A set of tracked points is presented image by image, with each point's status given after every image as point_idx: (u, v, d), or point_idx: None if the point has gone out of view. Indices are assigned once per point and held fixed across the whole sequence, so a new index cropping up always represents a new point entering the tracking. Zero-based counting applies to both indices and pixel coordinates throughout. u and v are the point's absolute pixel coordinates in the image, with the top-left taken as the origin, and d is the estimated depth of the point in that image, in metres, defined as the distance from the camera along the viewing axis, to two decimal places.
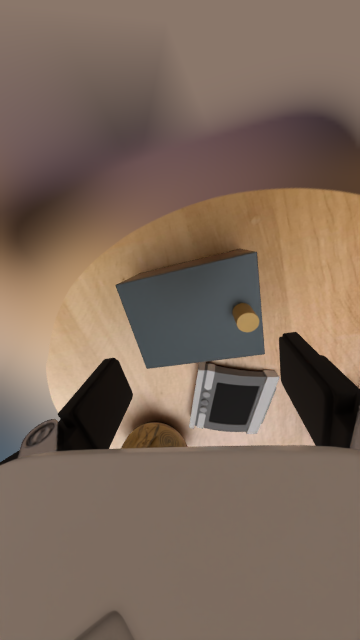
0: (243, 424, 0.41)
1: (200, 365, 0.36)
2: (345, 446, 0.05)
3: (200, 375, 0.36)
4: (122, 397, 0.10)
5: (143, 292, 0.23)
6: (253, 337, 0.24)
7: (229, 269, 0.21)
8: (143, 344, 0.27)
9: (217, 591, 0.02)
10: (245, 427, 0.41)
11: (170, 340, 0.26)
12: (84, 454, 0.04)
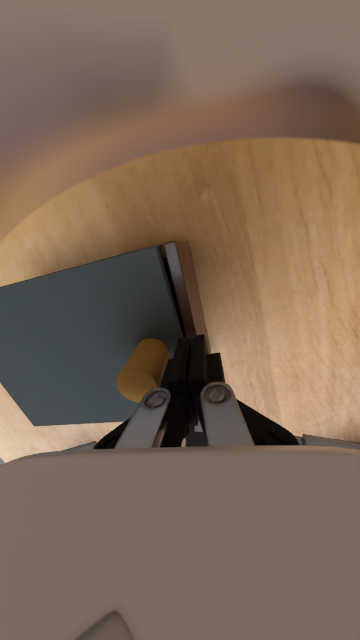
0: None
1: None
2: (199, 417, 0.07)
3: None
4: None
5: None
6: None
7: (113, 279, 0.11)
8: (16, 394, 0.17)
9: (217, 591, 0.02)
10: None
11: (53, 390, 0.16)
12: (84, 454, 0.04)
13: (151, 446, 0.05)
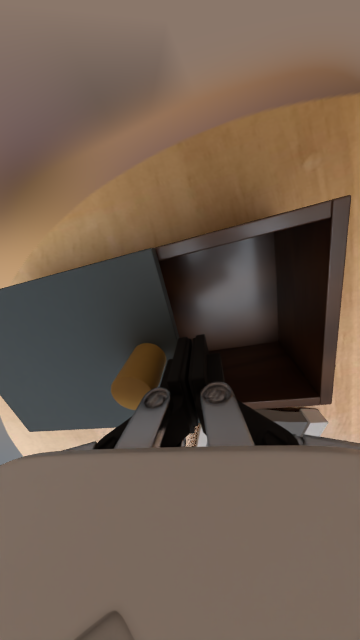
0: None
1: None
2: (199, 417, 0.07)
3: None
4: None
5: None
6: None
7: (108, 282, 0.11)
8: (11, 399, 0.16)
9: (217, 591, 0.02)
10: None
11: (48, 395, 0.16)
12: (84, 454, 0.04)
13: (151, 446, 0.05)
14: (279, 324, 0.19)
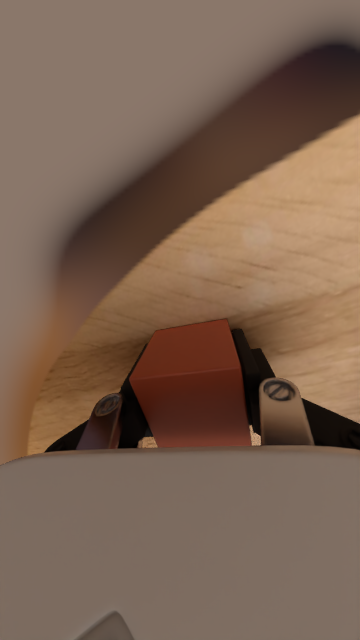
0: None
1: None
2: (253, 416, 0.07)
3: None
4: None
5: None
6: None
7: None
8: None
9: (217, 591, 0.02)
10: None
11: None
12: (84, 454, 0.04)
13: (111, 442, 0.06)
14: None
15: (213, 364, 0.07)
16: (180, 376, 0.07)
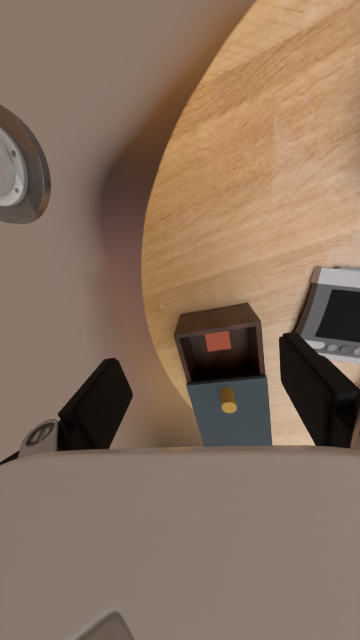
0: None
1: None
2: (345, 446, 0.05)
3: None
4: (122, 397, 0.10)
5: (209, 437, 0.37)
6: (249, 385, 0.30)
7: (196, 398, 0.33)
8: (249, 444, 0.36)
9: (217, 591, 0.02)
10: None
11: (247, 430, 0.35)
12: (84, 454, 0.04)
13: None
14: None
15: None
16: None
